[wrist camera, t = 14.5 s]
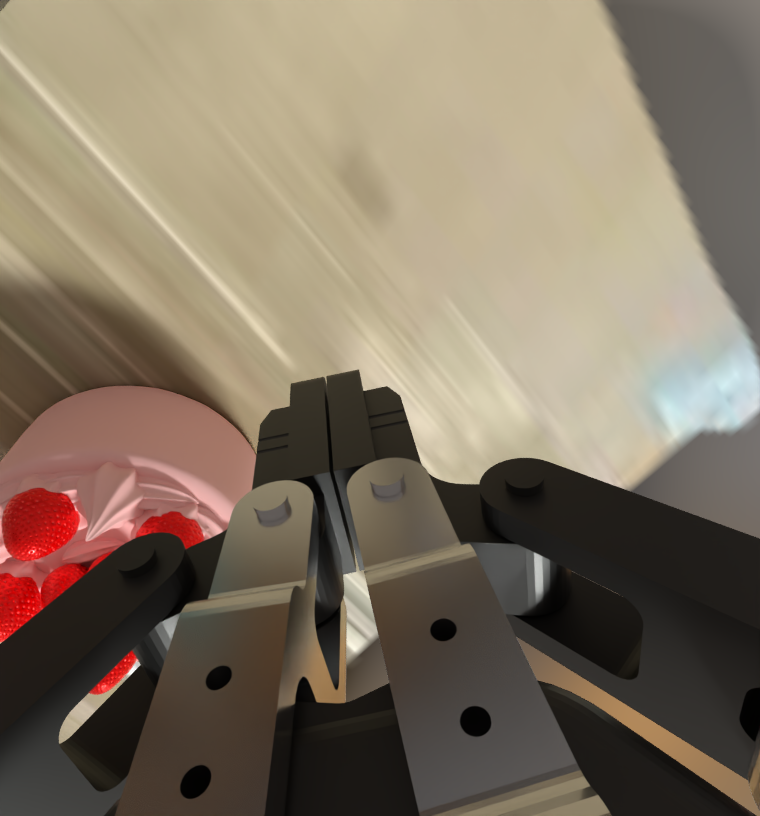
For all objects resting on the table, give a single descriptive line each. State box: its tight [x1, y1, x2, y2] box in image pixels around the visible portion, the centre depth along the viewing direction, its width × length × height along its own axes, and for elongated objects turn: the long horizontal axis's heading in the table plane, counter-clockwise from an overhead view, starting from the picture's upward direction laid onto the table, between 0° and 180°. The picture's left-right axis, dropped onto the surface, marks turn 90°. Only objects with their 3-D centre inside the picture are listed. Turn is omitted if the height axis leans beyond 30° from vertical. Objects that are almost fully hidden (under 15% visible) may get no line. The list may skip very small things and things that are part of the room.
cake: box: [0, 386, 256, 695], centre depth 41 cm, size 20×20×14 cm
